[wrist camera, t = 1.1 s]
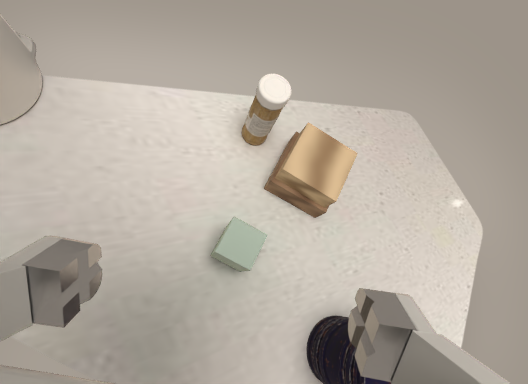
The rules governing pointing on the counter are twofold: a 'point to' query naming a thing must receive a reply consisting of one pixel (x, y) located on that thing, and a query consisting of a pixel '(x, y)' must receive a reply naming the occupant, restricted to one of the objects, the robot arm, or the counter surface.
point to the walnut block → (289, 193)
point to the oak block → (317, 166)
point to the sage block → (239, 245)
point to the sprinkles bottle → (265, 108)
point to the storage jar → (334, 353)
